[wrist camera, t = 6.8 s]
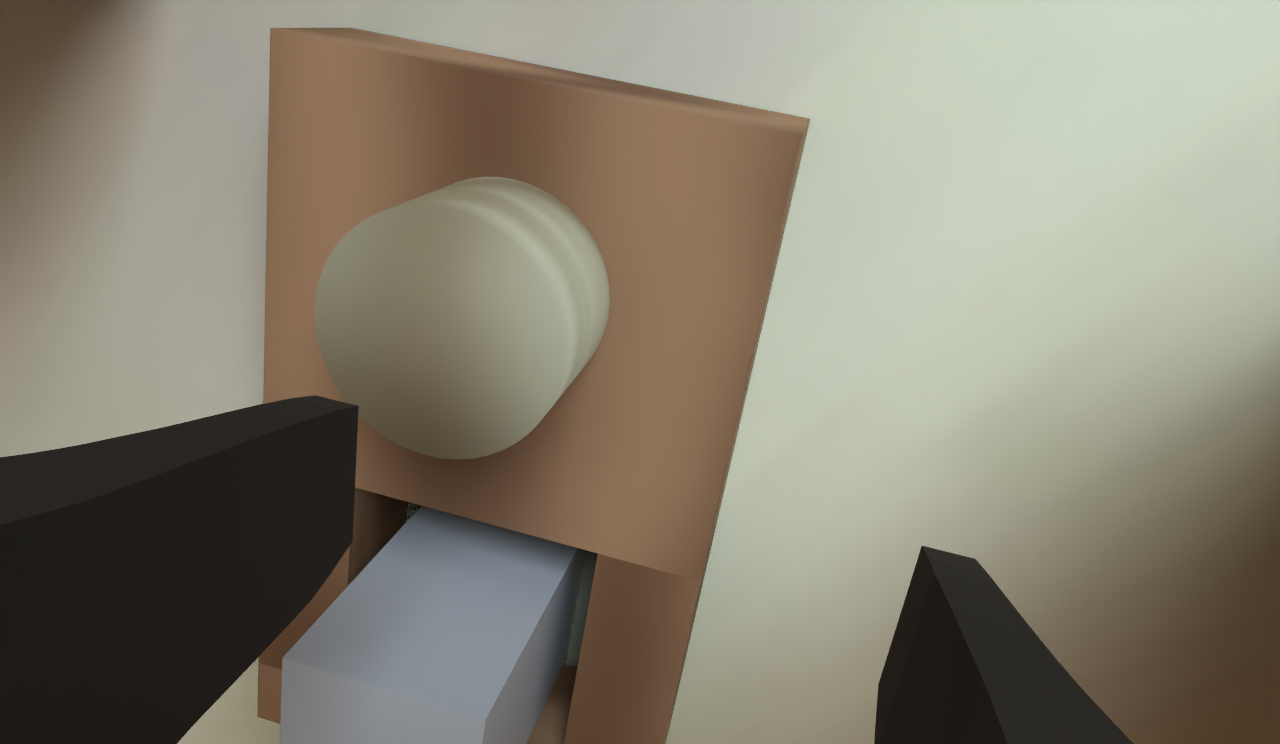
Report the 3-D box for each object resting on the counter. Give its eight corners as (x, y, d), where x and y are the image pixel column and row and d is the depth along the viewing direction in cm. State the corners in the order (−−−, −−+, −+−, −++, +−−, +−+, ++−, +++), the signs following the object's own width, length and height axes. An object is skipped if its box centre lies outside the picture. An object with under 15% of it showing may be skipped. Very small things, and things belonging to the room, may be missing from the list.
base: (810, 119, 19) (789, 156, 13) (664, 747, 25) (609, 951, 19) (350, 27, 20) (159, 28, 15) (320, 644, 26) (178, 807, 21)
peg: (589, 528, 23) (485, 719, 17) (566, 656, 25) (464, 878, 18) (438, 487, 24) (282, 658, 17) (425, 616, 25) (277, 817, 19)
